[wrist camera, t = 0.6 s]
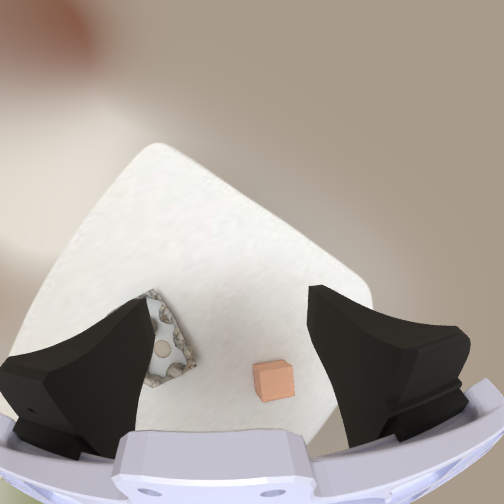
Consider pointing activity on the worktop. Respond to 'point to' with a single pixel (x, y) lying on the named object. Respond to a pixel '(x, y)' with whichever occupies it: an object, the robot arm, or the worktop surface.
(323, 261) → the worktop surface
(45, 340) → the worktop surface
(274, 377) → the terracotta cube
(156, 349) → the egg carton
